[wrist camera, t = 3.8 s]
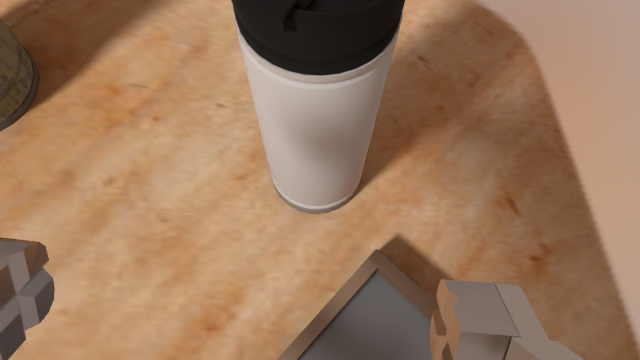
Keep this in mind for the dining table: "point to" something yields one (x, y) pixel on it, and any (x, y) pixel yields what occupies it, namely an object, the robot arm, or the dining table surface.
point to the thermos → (15, 78)
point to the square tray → (370, 319)
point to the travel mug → (317, 89)
